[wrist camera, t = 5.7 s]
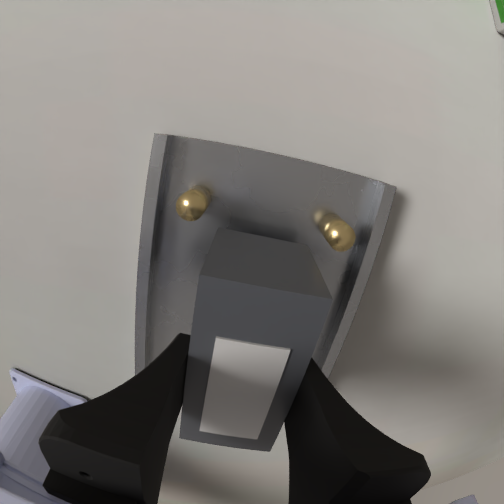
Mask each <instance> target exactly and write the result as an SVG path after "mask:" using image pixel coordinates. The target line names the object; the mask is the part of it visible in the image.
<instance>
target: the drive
mask: <svg viewBox="0 0 504 504" xmlns="http://www.w3.org/2000/svg"><path fill="white" fill-rule="evenodd" d="M332 301H333V298H332V296H331V294H330V292H329V289H328V287H327V285H326V283H325V281H324V279H323V276H322V274H321V272H320V270H319V268H318V266H317V264H316V262H315V260H314V257H313V255H312V253H311V251H310V249H309V247H308V245H303V244H298V243H293V242H289V241H284V240H279V239H274V238H269V237H264V236H259V235H254V234H249V233H244V232H239V231H234V230H229V229H224V228H219V227H218V229H217V231H216V234H215V236H214V239H213V241H212V244H211V246H210V249H209V251H208V254H207V256H206V259H205V261H204V264H203V266H202V269H201V271H200V274H199V280H198V286H197V293H196V300H195V307H194V314H193V322H192V329H191V337H190V344H189V352H188V361H187V369H186V378H185V386H184V396H183V405H182V415H181V426H180V437H179V438H182V439H186V440H191V441H197V442H202V443H208V444H214V445H220V446H227V447H234V448H241V449H250V450H259V451H271V449H272V446H273V444H274V442H275V440H276V438H277V436H278V434H279V432H280V430H281V427H282V425H283V423H284V421H285V419H286V416H287V414H288V412H289V410H290V407H291V405H292V403H293V401H294V398H295V396H296V394H297V391H298V389H299V387H300V384H301V382H302V379H303V377H304V375H305V372H306V370H307V367H308V365H309V362H310V360H311V357H312V355H313V352H314V350H315V347H316V344H317V342H318V339H319V337H320V334H321V331H322V329H323V326H324V323H325V321H326V318H327V315H328V312H329V309H330V307H331V304H332Z"/></svg>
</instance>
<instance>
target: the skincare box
mask: <svg viewBox="0 0 504 504" xmlns="http://www.w3.org/2000/svg"><path fill="white" fill-rule="evenodd" d="M489 1H490V4H491V8H492V12H493V16H494V21H495V26H496V29H497V32H499V33H501V34H503V35H504V0H489Z"/></svg>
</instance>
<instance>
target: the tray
mask: <svg viewBox="0 0 504 504" xmlns="http://www.w3.org/2000/svg"><path fill="white" fill-rule="evenodd" d="M395 191H396V187H395V186H392V185H389V184H387V183H384V182H381V181H377V180H374V179H371V178H367V177H364V176H360V175H357V174H353V173H350V172H346V171H343V170H339V169H335V168H332V167H328V166H324V165H320V164H316V163H312V162H308V161H304V160H300V159H296V158H291V157H287V156H283V155H278V154H274V153H269V152H264V151H260V150H255V149H250V148H245V147H240V146H234V145H229V144H224V143H218V142H212V141H206V140H200V139H194V138H188V137H181V136H174V135H167V134H155V133H154V138H153V144H152V150H151V156H150V162H149V169H148V176H147V183H146V190H145V198H144V206H143V215H142V224H141V234H140V245H139V257H138V271H137V288H136V312H135V375H137V374H138V373H139V372H141V371H142V370H143V369H144V368H145V367H147V366H148V365H149V364H150V363H151V362H152V361H153V360H155V359H156V358H157V357H158V356H159V355H160V354H161V353H162V352H163V351H164V350H165V349H166V348H167V347H168V345H169V344H170V343H171V342H172V341H173V340H174V338H175V337H176V336H177V334H179V333H184V334H188V335H191V329H192V322H193V314H194V307H195V300H196V293H197V286H198V280H199V274H200V271H201V269H202V266H203V264H204V261H205V259H206V256H207V254H208V251H209V249H210V246H211V244H212V241H213V239H214V236H215V234H216V231H217V229H218V227H219V228H224V229H229V230H234V231H239V232H244V233H249V234H254V235H259V236H264V237H269V238H274V239H279V240H284V241H289V242H293V243H298V244H303V245H308V247H309V249H310V251H311V253H312V255H313V257H314V260H315V262H316V264H317V266H318V268H319V270H320V272H321V274H322V276H323V279H324V281H325V283H326V285H327V287H328V289H329V292H330V294H331V296H332V298H333V301H332V304H331V307H330V309H329V312H328V315H327V318H326V321H325V323H324V326H323V329H322V331H321V334H320V337H319V339H318V342H317V344H316V347H315V350H314V352H313V355H312V358H313V360H314V361H315V362H316V364H317V365H318V367H319V368H320V369H321V371H322V372H323V373H324V375H325V376H326V377H327V379H328V377H329V375H330V373H331V371H332V368H333V366H334V364H335V362H336V359H337V357H338V355H339V353H340V350H341V348H342V346H343V343H344V341H345V338H346V336H347V334H348V331H349V329H350V326H351V324H352V321H353V319H354V316H355V313H356V311H357V308H358V306H359V303H360V300H361V298H362V295H363V292H364V290H365V287H366V284H367V281H368V278H369V275H370V273H371V270H372V267H373V264H374V261H375V258H376V255H377V252H378V249H379V246H380V242H381V239H382V236H383V233H384V229H385V226H386V223H387V219H388V216H389V213H390V209H391V205H392V202H393V198H394V195H395Z"/></svg>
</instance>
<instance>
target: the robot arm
mask: <svg viewBox="0 0 504 504" xmlns="http://www.w3.org/2000/svg"><path fill="white" fill-rule="evenodd" d="M190 337H191V335H188V334H184V333H179V334H177V336H176V337H175V338H174V340H173V341H172V342H171V343H170V344H169V345H168V347H167V348H166V349H165V350H164V351H163V352H162V353H161V354H160V355H159V356H158V357H157V358H156V359H155V360H153V361H152V362H151V363H150V364H149V365H148V366H147V367H145V368H144V369H143V370H142V371H141V372H139V373H138V374H137V375H135V376H134V377H132V378H131V379H130V380H128V381H127V382H125V383H123V384H122V385H120V386H118V387H117V388H115V389H113V390H111V391H110V392H108V393H106V394H104V395H101V396H99V397H97V398H94V399H92V400H90V401H87V400H86V399H85V398H83V397H80V396H78V395H75V394H72V393H70V392H67V391H64V390H62V389H59V388H57V387H54V386H52V385H50V384H47V383H45V382H42V381H40V380H38V379H36V378H33V377H31V376H29V375H27V374H24V373H22V372H20V371H18V370H16V369H14V368H11V370H10V371H9V373H10V376H11V379H12V382H13V385H14V388H15V390H16V393H17V396H16V398H15V399H14V400H13V402H12V403H11V405H10V406H9V407H8V409H7V410H6V412H5V413H4V414H3V416H2V417H1V419H0V504H157V503H158V497H159V492H160V486H161V481H162V476H163V471H164V466H165V461H166V456H167V451H168V447H169V443H170V439H171V436H172V433H173V430H174V427H175V424H176V421H177V418H178V415H179V412H180V410H181V407H182V404H183V396H184V386H185V378H186V369H187V361H188V352H189V344H190ZM284 423H285V430H286V437H287V445H288V452H289V504H412V503H411V500H410V498H411V497H412V496H413V495H415V494H416V493H417V492H418V491H419V490H420V489H421V488H422V487H423V486H424V485H425V484H426V483H427V482H428V480H429V478H430V476H431V472H430V470H429V467H428V465H427V463H426V460H425V458H424V456H423V455H422V454H420V453H418V452H416V451H413V450H411V449H409V448H407V447H405V446H403V445H401V444H400V443H398V442H396V441H394V440H393V439H391V438H389V437H388V436H386V435H385V434H383V433H382V432H381V431H379V430H378V429H377V428H375V427H374V426H373V425H371V424H370V423H369V422H367V421H366V420H365V419H364V418H363V417H362V416H361V415H360V414H358V413H357V412H356V411H355V410H354V409H353V408H352V407H351V406H350V405H349V404H348V403H347V402H346V400H345V399H344V398H343V397H342V396H341V395H340V394H339V393H338V391H337V390H336V389H335V388H334V386H333V385H332V384H331V383H330V381H329V380H328V379H327V377H326V376H325V375H324V373H323V372H322V371H321V369H320V368H319V367H318V365H317V364H316V362H315V361H314V360H313V358H312V357H311V360H310V362H309V365H308V367H307V370H306V372H305V375H304V377H303V379H302V382H301V384H300V387H299V389H298V391H297V394H296V396H295V398H294V401H293V403H292V405H291V407H290V410H289V412H288V414H287V416H286V419H285V421H284ZM450 504H478V503H477V500H476V498H475V496H474V495H470V496H467V497H464V498H461V499H458V500H456V501H454V502H452V503H450Z"/></svg>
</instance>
